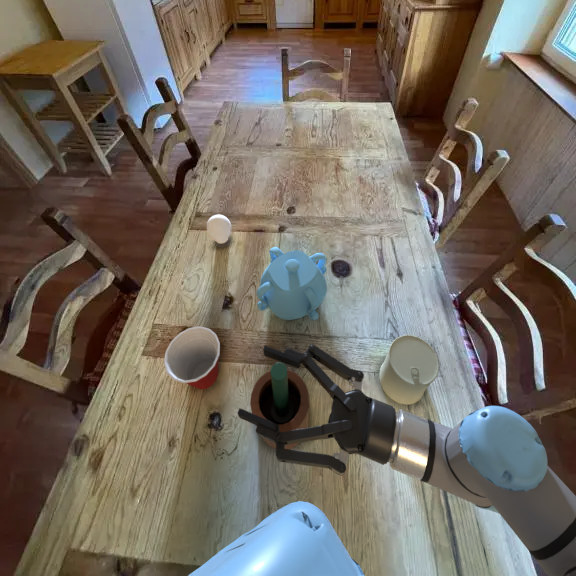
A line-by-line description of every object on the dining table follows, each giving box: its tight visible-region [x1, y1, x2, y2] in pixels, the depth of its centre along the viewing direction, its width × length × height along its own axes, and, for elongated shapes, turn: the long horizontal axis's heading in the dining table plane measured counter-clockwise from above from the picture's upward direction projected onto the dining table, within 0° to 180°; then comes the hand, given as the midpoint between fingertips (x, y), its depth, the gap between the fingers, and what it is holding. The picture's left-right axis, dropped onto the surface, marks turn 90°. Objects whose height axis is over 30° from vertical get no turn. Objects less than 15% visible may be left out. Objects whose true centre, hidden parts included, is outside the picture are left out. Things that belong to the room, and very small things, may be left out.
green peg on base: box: [269, 362, 294, 425], centre depth 59 cm, size 4×4×22 cm
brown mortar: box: [249, 368, 310, 450], centre depth 63 cm, size 10×10×13 cm
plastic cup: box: [163, 325, 221, 390], centre depth 70 cm, size 11×11×12 cm
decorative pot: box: [256, 246, 328, 321], centre depth 82 cm, size 16×16×14 cm
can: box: [378, 334, 440, 406], centre depth 67 cm, size 9×9×12 cm
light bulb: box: [206, 213, 233, 248], centre depth 96 cm, size 7×7×11 cm
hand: (252, 380), depth 56 cm, fingers open, 9 cm apart
